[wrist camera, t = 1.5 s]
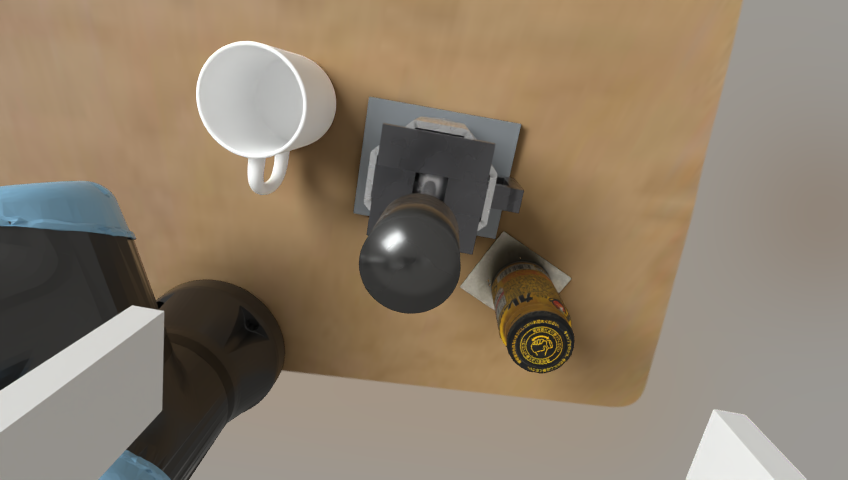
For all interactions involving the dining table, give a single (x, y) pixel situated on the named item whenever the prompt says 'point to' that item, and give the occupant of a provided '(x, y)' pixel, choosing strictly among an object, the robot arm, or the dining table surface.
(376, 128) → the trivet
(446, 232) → the plunger
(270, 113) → the cup
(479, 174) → the carafe
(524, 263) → the condiment
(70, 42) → the dining table surface
